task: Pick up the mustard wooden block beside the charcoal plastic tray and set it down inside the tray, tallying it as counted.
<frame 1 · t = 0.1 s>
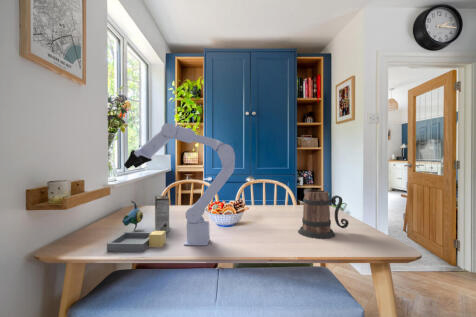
hand: (130, 166, 101), 32 cm above the table, tool tilted 50°, fingers open, 7 cm apart
blue bird figurine: (133, 231, 115), on the table
mustard block: (157, 244, 98), on the table
tankard: (323, 233, 113), on the table
coffee box: (161, 230, 118), on the table
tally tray: (133, 244, 98), on the table
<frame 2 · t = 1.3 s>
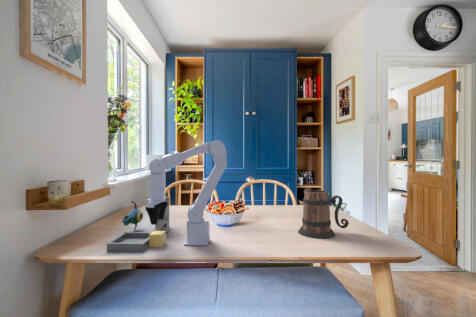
hand: (157, 221, 98), 9 cm above the table, tool pointing down, fingers open, 7 cm apart
nothing on the table moved.
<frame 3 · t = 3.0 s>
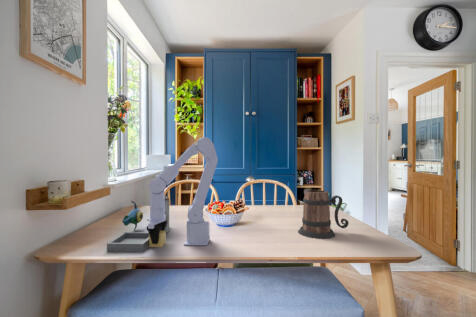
hand: (157, 241, 98), 1 cm above the table, tool pointing down, fingers closed on mustard block, 5 cm apart
mustard block: (157, 244, 98), on the table, touching gripper
everything else where it was.
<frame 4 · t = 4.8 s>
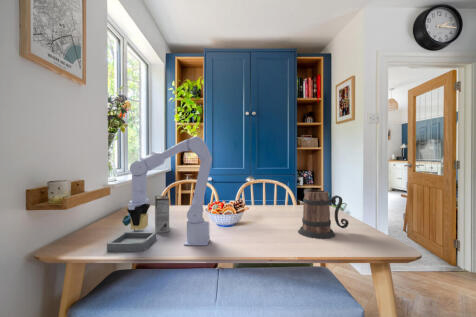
hand: (139, 223, 98), 9 cm above the table, tool pointing down, fingers closed on mustard block, 5 cm apart
mustard block: (139, 227, 98), point 7 cm above the table, touching gripper
everything else where it was.
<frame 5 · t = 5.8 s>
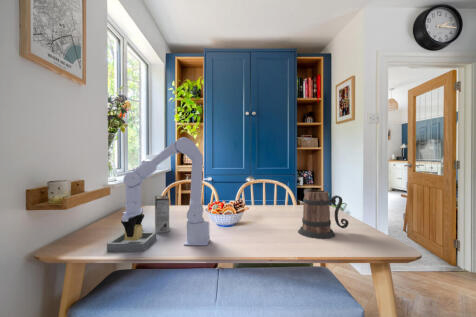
hand: (133, 234, 98), 4 cm above the table, tool pointing down, fingers closed on mustard block, 5 cm apart
mustard block: (133, 238, 98), point 2 cm above the table, touching gripper
everything else where it was.
when the fingers open (4 cm above the table, at t = 6.8 s): mustard block drops 1 cm, resting on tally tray.
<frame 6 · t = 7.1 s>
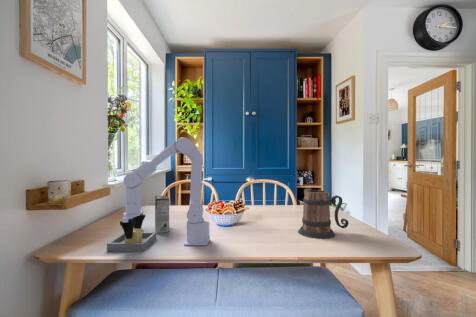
hand: (133, 235, 98), 4 cm above the table, tool pointing down, fingers open, 7 cm apart
mustard block: (133, 242, 98), point 1 cm above the table, touching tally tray
everything else where it was.
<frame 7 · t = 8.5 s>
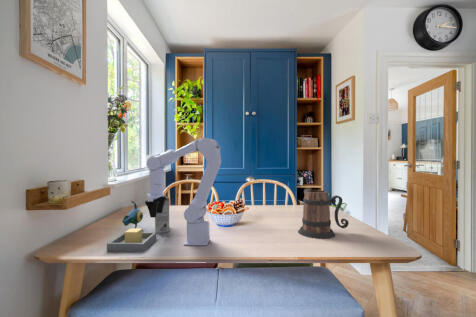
hand: (156, 215, 105), 10 cm above the table, tool pointing down, fingers open, 7 cm apart
nothing on the table moved.
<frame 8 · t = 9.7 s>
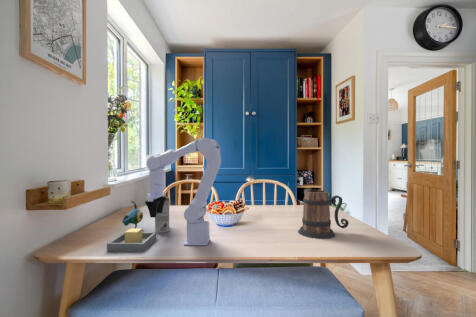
hand: (156, 215, 105), 10 cm above the table, tool pointing down, fingers open, 7 cm apart
nothing on the table moved.
at the end: mustard block inside the target area on the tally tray (0.1 cm from its centre), point 0.8 cm above the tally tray's base; mustard block tilted 0°; the gripper is holding nothing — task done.
